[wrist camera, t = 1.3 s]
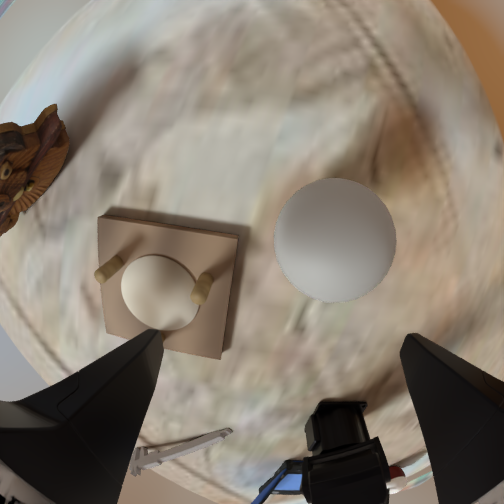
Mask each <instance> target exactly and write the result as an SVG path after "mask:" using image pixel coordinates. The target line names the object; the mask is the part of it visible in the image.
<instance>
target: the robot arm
mask: <svg viewBox="0 0 504 504" xmlns="http://www.w3.org/2000/svg"><path fill="white" fill-rule="evenodd" d="M163 353H164V347H163V342H162V336H161V332H160V331H159V330H158V329H147V330H145V331H144V332H142V333H140V334H139V335H137V336H135V337H134V338H132V339H130V340H129V341H127V342H126V343H124V344H122V345H121V346H119V347H117V348H116V349H114V350H112V351H111V352H109V353H107V354H106V355H104V356H102V357H101V358H99V359H97V360H96V361H94V362H92V363H91V364H89V365H87V366H86V367H84V368H82V369H81V370H79V372H78V371H77V372H76V373H74V374H72V375H71V376H69V377H67V378H65V379H63V380H62V381H60V382H58V383H56V384H54V385H52V386H50V387H48V388H46V389H44V390H42V391H39V392H37V393H35V394H33V395H30V396H28V397H26V398H24V399H22V400H18V401H12V402H6V401H0V504H117V502H118V499H119V495H120V492H121V489H122V484H123V482H124V478H125V475H126V472H127V469H128V466H129V463H130V460H131V456H132V453H133V450H134V447H135V444H136V441H137V438H138V436H139V433H140V430H141V427H142V424H143V421H144V418H145V415H146V413H147V410H148V407H149V404H150V401H151V399H152V396H153V393H154V390H155V387H156V383H157V378H158V374H159V370H160V366H161V362H162V357H163ZM400 358H401V362H402V366H403V370H404V374H405V378H406V383H407V386H408V390H409V393H410V396H411V399H412V402H413V405H414V408H415V411H416V414H417V417H418V420H419V424H420V427H421V430H422V434H423V437H424V441H425V444H426V448H427V452H428V456H429V459H430V463H431V467H432V472H433V476H434V481H435V486H436V491H437V496H438V501H439V504H475V503H476V502H478V503H479V504H504V382H503V381H501V380H499V379H497V378H495V377H493V376H492V375H490V374H488V373H486V372H485V371H482V370H481V369H479V368H478V367H476V366H474V365H472V364H471V363H469V362H467V361H465V360H464V359H462V358H460V357H458V356H457V355H455V354H453V353H451V352H450V351H448V350H446V349H444V348H443V347H441V346H439V345H437V344H436V343H434V342H432V341H430V340H428V339H427V338H425V337H423V336H421V335H420V334H418V333H410V334H407V335H406V337H405V340H404V342H403V345H402V347H401V350H400ZM366 407H367V402H320V403H319V404H318V405H317V407H316V409H315V411H314V413H313V414H312V415H311V416H310V418H309V420H308V421H307V423H306V425H305V429H304V430H305V433H306V438H307V447H308V450H309V451H312V455H313V456H311V457H304V458H303V463H302V464H301V467H302V479H301V484H300V489H299V490H300V493H301V494H302V495H304V497H305V498H306V501H307V503H308V504H310V503H312V504H384V502H385V500H386V497H387V494H388V490H387V486H386V483H388V482H391V475H390V470H389V466H388V462H387V459H386V456H385V454H384V451H383V448H382V446H381V443H380V440H379V438H378V436H377V437H374V438H373V439H371V440H370V436H369V433H368V430H367V426H366V423H365V420H364V416H363V412H364V410H365V409H366Z"/></svg>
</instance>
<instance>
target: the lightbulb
mask: <svg viewBox="0 0 504 504" xmlns="http://www.w3.org/2000/svg"><path fill="white" fill-rule="evenodd" d="M274 248H275V253H276V257H277V261H278V264H279V266H280V268H281V270H282V272H283V273H284V275H285V276H286V277H287V279H288V280H289V281H290V283H291V284H292V285H293V286H294V287H296V288H297V289H298V290H299V291H300V292H302V293H304V294H306V295H307V296H309V297H311V298H313V299H316V300H319V301H322V302H329V303H340V302H347V301H351V300H355V299H358V298H360V297H362V296H364V295H366V294H367V293H369V292H370V291H372V290H373V289H374V288H375V287H376V286H377V285H378V284H380V283H381V281H382V280H383V279H384V277H385V276H386V275H387V273H388V271H389V269H390V267H391V264H392V262H393V258H394V255H395V250H396V230H395V227H394V223H393V220H392V217H391V215H390V213H389V211H388V209H387V207H386V205H385V204H384V203H383V202H382V201H381V199H380V198H379V197H378V196H377V195H376V194H375V193H374V192H373V191H371V190H370V189H369V188H368V187H366V186H364V185H362V184H360V183H358V182H355V181H352V180H347V179H343V178H327V179H322V180H317V181H315V182H312V183H310V184H308V185H306V186H304V187H303V188H301V189H300V190H298V191H297V192H296V193H295V194H294V195H293V196H292V197H291V198H290V199H289V200H288V201H287V202H286V204H285V206H284V207H283V209H282V210H281V212H280V214H279V217H278V220H277V222H276V226H275V232H274Z"/></svg>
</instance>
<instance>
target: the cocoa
mask: <svg viewBox="0 0 504 504" xmlns="http://www.w3.org/2000/svg"><path fill="white" fill-rule="evenodd" d="M389 470H390V475H391V482H388V483H386V486H387V490H388V494H387V497H386V500H385V502H384V504H389V494H394V493H397V492H399V491H400V490H402V489H403V488H404V487H405V486H406V485H407V482H408V481H407V478H406V477H405V474H404V472H403V470H402V469H401V468H400V467H397V466H391V467H389Z"/></svg>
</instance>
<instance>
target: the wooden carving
mask: <svg viewBox="0 0 504 504" xmlns="http://www.w3.org/2000/svg"><path fill="white" fill-rule="evenodd" d="M57 110H58V108H57V104H53V105H50V106H48V107H47V108H45V109H44V110H43V111H42V112H41V114H40V115H39V116H38V118H37V119H36V121H35V122H34V123H32V124H28V125H24V126H19V125H17V124H16V123H13V122H8V123H3V124H0V236H2V234H3V233H6V232H7V231H8V230H9V229H11V228H12V227H14V225H15V224H16V222H17V221H18V217H19V213H20V212H21V211H25V210H26V209H27V208H29V207H30V206H31V205H32V204H33V203H34V202H35V201H36V200H37V199H38V198H39V197H40V196H41V195H42V194H43V193H44V192H45V191H46V189H47V188H48V186H50V184H51V182H52V181H53V180H54V178H55V177H56V175H57V174H58V172H59V171H60V169H61V167H62V165H63V163H64V161H65V158H66V155H67V151H68V149H69V136H68V134H67V132H66V130H65V129H66V128H65V125H64V123H63V121H61V120H60V119H59V117H58V114H57Z"/></svg>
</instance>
